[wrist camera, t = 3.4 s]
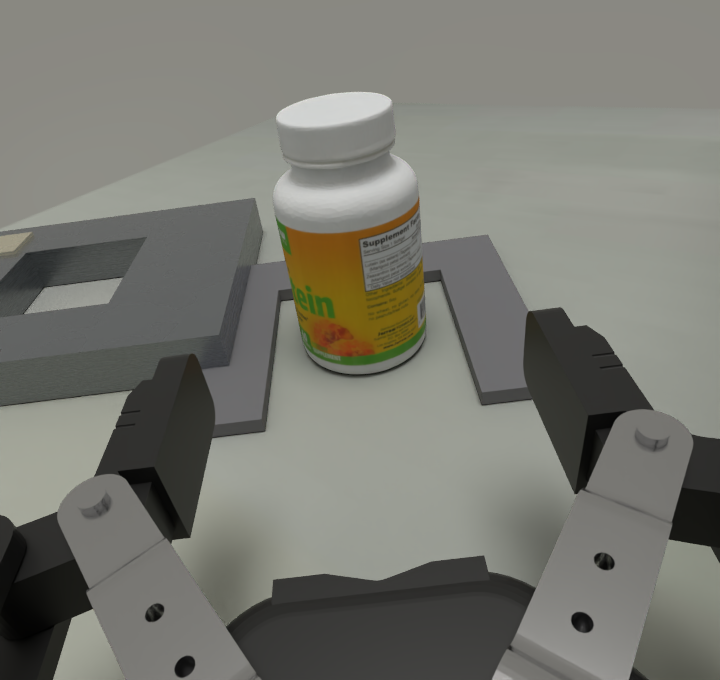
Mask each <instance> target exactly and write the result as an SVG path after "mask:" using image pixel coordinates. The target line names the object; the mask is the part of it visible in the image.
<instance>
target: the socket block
mask: <svg viewBox="0 0 720 680" xmlns="http://www.w3.org/2000/svg"><path fill="white" fill-rule="evenodd" d="M262 234H263V230H262V226H261V221H260V217H259V213H258V209H257V205H256V201H255V198H251V199H244V200H236V201H229V202H221V203H214V204H206V205H198V206H191V207H183V208H176V209H168V210H161V211H153V212H146V213H138V214H131V215H123V216H116V217H108V218H101V219H93V220H85V221H78V222H70V223H63V224H55V225H48V226H40V227H33V228H25V229H18V230H10V231H3V232H0V406H3V405H11V404H19V403H27V402H35V401H43V400H51V399H59V398H67V397H76V396H84V395H92V394H100V393H108V392H116V391H124V390H132V389H135V388H136V387H137V386H138V385H139V384H140V383H141V381H142V380H150V379H153V376H154V373H155V371H156V368H157V366H158V363H159V361H160V359H161V358H162V357H167V356H175V355H183V354H191V353H193V354H195V355H196V357H197V359H198V361H199V364H200V366H201V369H209V368H217V367H225V366H229V365H230V360H231V356H232V351H233V347H234V342H235V338H236V333H237V328H238V324H239V319H240V315H241V310H242V306H243V301H244V297H245V292H246V288H247V283H248V279H249V274H250V270H251V265H256V263H257V258H258V253H259V248H260V244H261V239H262ZM116 277H124V278H123V279H122V281H121V283H120V285H119V286H118V288H117V290H116V291H115V293H114V295H113V297H112V298H111V300H110V302H109V304H101V305H93V306H86V307H78V308H70V309H62V310H54V311H47V312H39V313H31V314H23V313H24V312H25V310H26V309H27V308H28V307H29V305H30V304H31V303H32V302H33V300H34V299H35V298H36V296H37V295H38V294H39V293H40V291H41V290H42V289H43V288H44V287H47V286H54V285H62V284H70V283H78V282H85V281H93V280H101V279H108V278H116ZM22 314H23V315H22Z"/></svg>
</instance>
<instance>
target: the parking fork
mask: <svg viewBox="0 0 720 680" xmlns="http://www.w3.org/2000/svg"><path fill="white" fill-rule="evenodd" d="M422 257H423V275H424V282H431V281H439V280H441V282H442V285H443V288H444V291H445V294H446V297H447V300H448V303H449V306H450V309H451V312H452V315H453V318H454V321H455V325H456V328H457V331H458V334H459V337H460V340H461V343H462V346H463V349H464V352H465V355H466V358H467V361H468V364H469V367H470V370H471V373H472V376H473V379H474V382H475V385H476V388H477V391H478V394H479V397H480V400H481V404H482V405H484V404H492V403H500V402H509V401H517V400H525V399H532V397H531V394H530V392H529V390H528V387H527V385H526V381H525V377H524V370H523V356H524V342H525V327H526V317H527V313H528V312H529V311H528V310H527V308H526V306H525V304H524V302H523V300H522V298H521V296H520V295H519V293H518V291H517V289H516V287H515V285H514V283H513V281H512V279H511V278H510V276H509V274H508V272H507V270H506V268H505V266H504V264H503V263H502V261H501V259H500V257H499V255H498V253H497V251H496V249H495V247H494V246H493V244H492V242H491V240H490V238H489V236H488V235H481V236H473V237H466V238H458V239H450V240H442V241H435V242H427V243H422ZM289 299H294V297H293V293H292V288H291V284H290V279H289V274H288V270H287V265H286V261H280V262H272V263H265V264H257V265H251V270H250V274H249V279H248V283H247V288H246V292H245V297H244V301H243V306H242V310H241V315H240V319H239V324H238V328H237V333H236V338H235V342H234V347H233V351H232V356H231V360H230V365H229V366H225V367H217V368H209V369H202V372H203V374H204V377H205V380H206V382H207V385H208V388H209V390H210V393H211V396H212V399H213V402H214V407H215V426H214V431H213V436H212V437H218V436H226V435H234V434H243V433H251V432H259V431H265V427H266V419H267V410H268V402H269V394H270V386H271V377H272V369H273V361H274V352H275V344H276V336H277V328H278V319H279V311H280V303H281V300H289Z"/></svg>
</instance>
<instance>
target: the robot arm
mask: <svg viewBox="0 0 720 680" xmlns="http://www.w3.org/2000/svg"><path fill="white" fill-rule="evenodd" d="M523 370H524V377H525V381H526V385H527V387H528V390H529V392H530V394H531V397H532V399H533V401H534V403H535V406H536V408H537V410H538V412H539V415H540V417H541V419H542V421H543V424H544V426H545V428H546V430H547V433H548V435H549V437H550V439H551V442H552V444H553V446H554V448H555V451H556V453H557V455H558V457H559V460H560V462H561V464H562V467H563V469H564V471H565V473H566V476H567V478H568V480H569V482H570V485H571V487H572V489H573V491H574V494H578V495H577V497H576V499H575V501H574V504H573V506H572V508H571V510H570V513H569V515H568V517H567V519H566V522H565V524H564V526H563V528H562V531H561V533H560V535H559V538H558V540H557V542H556V544H555V547H554V549H553V551H552V553H551V556H550V558H549V560H548V562H547V565H546V567H545V569H544V572H543V574H542V576H541V578H540V581H539V583H538V585H537V587H536V588H535V587H533V586H531V585H529V584H527V583H525V582H523V581H520V580H518V579H515V578H512V577H510V576H506V575H502V574H498V573H492V572H488V569H487V565H486V561H485V557H484V556H476V557H468V558H459V559H450V560H441V561H433V562H429V563H427V564H424V565H421V566H419V567H416V568H414V569H411V570H408V571H406V572H403V573H400V574H398V575H395V576H392V577H390V578H387V579H384V580H380V581H373V580H365V579H358V578H351V577H343V576H336V575H329V574H320V575H311V576H303V577H294V578H285V579H277V580H273V590H272V597H271V598H268V599H266V600H264V601H262V602H260V603H258V604H256V605H254V606H252V607H251V608H249V609H248V610H246V611H245V612H243V613H242V614H240V615H239V616H238V617H237V618H236V619H234V620H233V621H232V622H231V623H230V624H229V625H228V626H227V627H225V625H224V624H223V622H222V621H221V619H220V618H219V616H218V615H217V613H216V612H215V610H214V609H213V607H212V606H211V604H210V603H209V601H208V600H207V598H206V597H205V595H204V594H203V592H202V591H201V589H200V588H199V586H198V585H197V583H196V582H195V580H194V579H193V577H192V576H191V574H190V573H189V571H188V570H187V568H186V567H185V565H184V564H183V562H182V561H181V559H180V557H179V556H178V554H177V553H176V551H175V550H174V548H173V547H172V545H171V543H172V540H175V539H183V538H190V536H191V532H192V527H193V522H194V518H195V513H196V509H197V504H198V500H199V495H200V490H201V486H202V481H203V477H204V472H205V468H206V463H207V458H208V454H209V449H210V445H211V440H212V436H213V431H214V426H215V407H214V402H213V399H212V396H211V393H210V390H209V388H208V385H207V382H206V380H205V377H204V374H203V372H202V369H201V366H200V364H199V361H198V359H197V357H196V355H195V354H193V353H191V354H183V355H175V356H167V357H162V358H161V359H160V361H159V363H158V366H157V368H156V371H155V373H154V376H153V379H150V380H142V381H141V383H140V384H139V385H138V386H137V387H136V388H135V389H134V390H133V391H132V392H131V393H130V394H129V395H128V397H127V399H126V402H125V404H124V407H123V409H122V411H121V416H119V419H118V421H117V423H116V429H114V430H113V433H112V435H111V438H110V440H109V442H108V445H107V447H106V450H105V452H104V454H103V457H102V459H101V462H100V464H99V466H98V469H97V471H96V474H95V476H94V477H93V478H90V479H88V480H86V481H84V482H82V483H81V484H79V485H78V486H76V487H75V488H74V489H73V490H72V491H71V492H70V493H69V494H67V496H66V497H65V498H64V499H63V501H62V503H61V504H60V507H59V509H58V512H55V513H53V514H51V515H48V516H45V517H43V518H40V519H37V520H35V521H32V522H29V523H27V524H24V525H22V526H19V527H15V526H14V524H13V523H12V522H11V521H10V520H9V519H8V518H7V517H5V516H2V515H0V680H53V677H54V674H55V671H56V668H57V664H58V661H59V658H60V655H61V651H62V648H63V645H64V641H65V638H66V635H67V632H68V628H69V625H70V622H71V619H72V618H73V617H75V616H77V615H80V614H82V613H84V612H87V611H89V610H91V609H94V612H95V614H96V616H97V618H98V620H99V622H100V624H101V627H102V629H103V631H104V633H105V635H106V637H107V640H108V642H109V644H110V646H111V648H112V650H113V653H114V655H115V657H116V659H117V661H118V663H119V666H120V668H121V670H122V672H123V674H124V676H125V678H126V680H648V679H647V678H646V677H645V676H644V675H643V674H641V673H640V672H639V671H638V670H637V669H635V668H634V667H633V663H634V660H635V656H636V652H637V649H638V645H639V642H640V638H641V635H642V631H643V628H644V624H645V620H646V617H647V613H648V610H649V606H650V603H651V599H652V596H653V592H654V588H655V585H656V581H657V578H658V574H659V571H660V567H661V564H662V560H663V556H664V553H665V549H666V546H667V542H668V539H670V540H675V541H681V542H687V543H693V544H699V545H705V546H710V547H711V548H712V550H713V552H714V554H715V555H716V557H717V559H718V561H719V563H720V439H715V438H707V437H701V436H696V435H692V434H691V433H690V432H689V430H688V429H687V428H686V427H685V426H684V425H683V424H682V423H681V422H680V421H678V420H677V419H675V418H673V417H671V416H669V415H667V414H664V413H662V412H658V411H654V409H653V408H652V406H651V405H650V404H649V402H648V401H647V399H646V398H645V396H644V395H643V393H642V392H641V390H640V389H639V387H638V386H637V385H636V383H635V382H634V380H633V379H632V377H631V376H630V374H629V373H628V371H627V370H626V368H625V367H623V364H622V363H621V361H620V360H619V358H618V357H617V355H615V354H614V351H613V349H612V348H611V347H610V345H609V344H608V342H607V341H606V339H605V338H604V337H603V336H602V335H600V334H599V333H597V332H596V331H594V330H593V329H591V328H590V327H588V326H587V325H585V326H577V327H574V326H573V324H572V323H571V321H570V319H569V318H568V316H567V315H566V313H565V311H564V310H563V309H562V308H560V307H559V308H551V309H544V310H536V311H529V312H528V313H527V317H526V327H525V342H524V356H523Z"/></svg>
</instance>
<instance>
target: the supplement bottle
mask: <svg viewBox="0 0 720 680" xmlns="http://www.w3.org/2000/svg"><path fill="white" fill-rule="evenodd" d="M276 124H277V129H278V135H279V141H280V147H281V150H282V152H283V158H284V160H285V161H286V162H287V163H289V164H290V165H291V167H292V168H291V169H289V170H288V171H287V172H286V173H284V174H283V176H282V177H281V178H280V179H279V181H278V182H277V184H276V186H275V188H274V193H273V206H274V211H275V216H276V221H277V225H278V229H279V234H280V238H281V243H282V247H283V252H284V257H285V261H286V265H287V270H288V274H289V279H290V284H291V288H292V293H293V297H294V302H295V307H296V312H297V316H298V321H299V326H300V331H301V335H302V339H303V343H304V346H305V349H306V351H307V353H308V354H309V356H310V357H311V358H312V359H313V360H314V361H315V362H316V363H318V364H319V365H321V366H323V367H324V368H327V369H329V370H332V371H335V372H340V373H346V374H369V373H376V372H380V371H384V370H387V369H390V368H392V367H394V366H397V365H399V364H400V363H402V362H404V361H405V360H407V359H408V358H410V357H411V356H412V355H413V354H414V353H415V352H416V351H417V350H418V349H419V347H420V346H421V344H422V342H423V340H424V337H425V333H426V309H425V293H424V275H423V257H422V240H421V222H420V206H419V191H418V183H417V178H416V175H415V173H414V171H413V169H412V168H411V167H410V166H409V165H408V163H406V162H405V161H404V160H403V159H401V158H399V157H397V156H395V155H393V154H390V153H389V150H390V149H392V147H393V146H394V144H395V135H396V130H395V123H394V114H393V104H392V101H391V99H389V98H388V97H387V96H384V95H381V94H377V93H370V92H347V93H336V94H329V95H324V96H319V97H314V98H310V99H306V100H303V101H300V102H297V103H295V104H292V105H290V106H288V107H286V108H284V109H283V110H281V111H280V112H279V113H278V114H277V117H276Z"/></svg>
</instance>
